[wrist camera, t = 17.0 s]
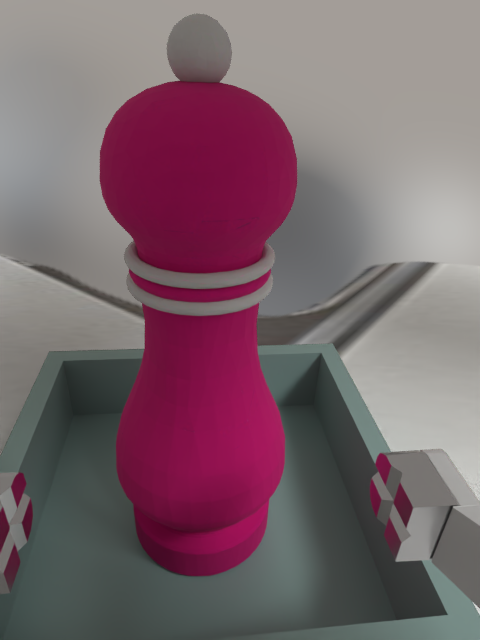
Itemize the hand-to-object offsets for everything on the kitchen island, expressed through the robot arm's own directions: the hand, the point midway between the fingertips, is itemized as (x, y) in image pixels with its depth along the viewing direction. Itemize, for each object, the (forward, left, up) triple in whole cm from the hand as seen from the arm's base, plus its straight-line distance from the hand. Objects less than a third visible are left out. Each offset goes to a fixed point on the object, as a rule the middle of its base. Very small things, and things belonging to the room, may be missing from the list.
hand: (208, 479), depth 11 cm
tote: (-4, -6, -11) cm, 13 cm away
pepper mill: (-4, -6, -11) cm, 13 cm away
